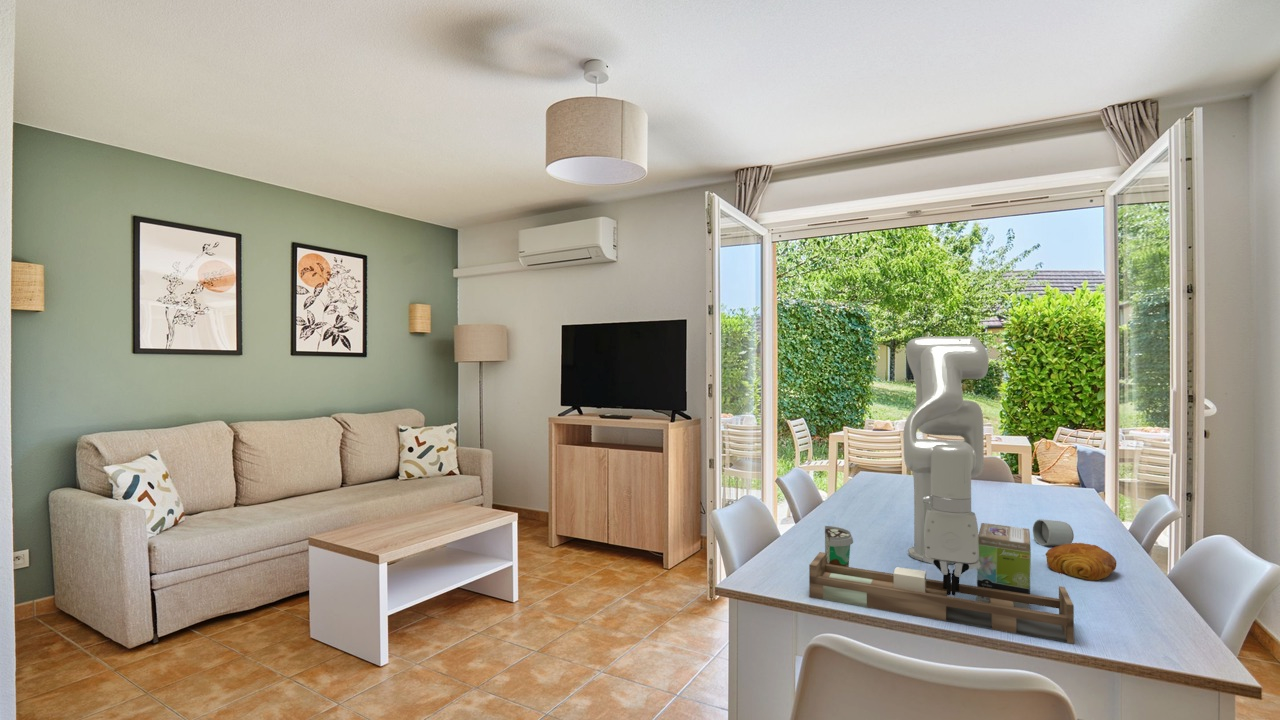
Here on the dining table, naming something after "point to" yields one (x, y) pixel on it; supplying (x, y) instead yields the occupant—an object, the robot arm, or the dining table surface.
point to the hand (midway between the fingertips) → (951, 593)
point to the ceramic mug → (1052, 533)
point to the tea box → (1004, 560)
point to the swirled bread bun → (1081, 561)
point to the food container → (837, 545)
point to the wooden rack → (944, 601)
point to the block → (910, 579)
